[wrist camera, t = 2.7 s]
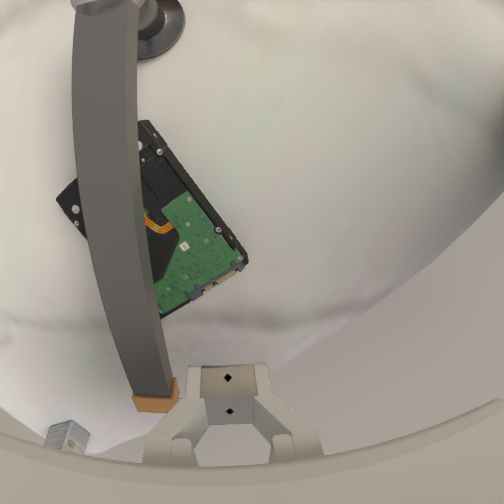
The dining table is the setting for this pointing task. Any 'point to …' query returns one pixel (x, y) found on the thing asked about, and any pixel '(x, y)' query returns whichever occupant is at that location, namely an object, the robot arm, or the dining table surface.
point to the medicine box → (68, 437)
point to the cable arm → (117, 192)
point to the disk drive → (174, 227)
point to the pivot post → (159, 27)
